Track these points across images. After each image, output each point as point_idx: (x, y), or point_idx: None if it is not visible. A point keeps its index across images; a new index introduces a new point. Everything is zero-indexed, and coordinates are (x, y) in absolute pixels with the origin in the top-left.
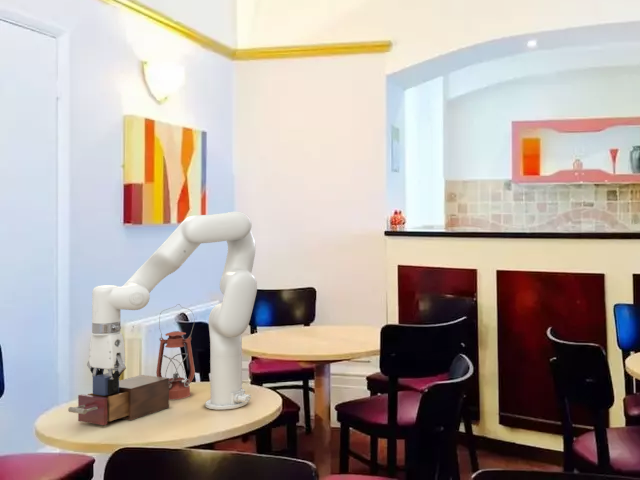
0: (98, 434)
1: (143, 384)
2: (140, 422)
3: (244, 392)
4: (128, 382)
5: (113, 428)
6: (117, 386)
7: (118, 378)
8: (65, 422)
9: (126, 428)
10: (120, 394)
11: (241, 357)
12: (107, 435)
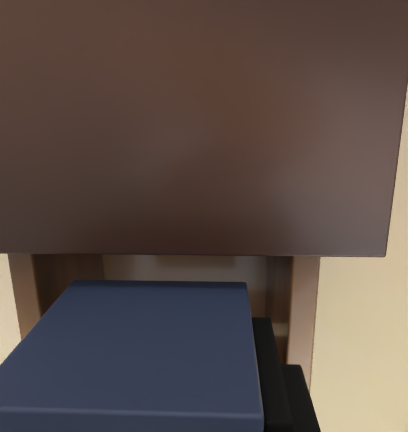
0: (339, 412)
1: (387, 25)
2: (398, 189)
3: None
4: (89, 26)
5: (333, 324)
6: (305, 384)
7: (257, 383)
8: (6, 341)
9: (403, 300)
10: (314, 319)
11: None
12: (395, 408)
